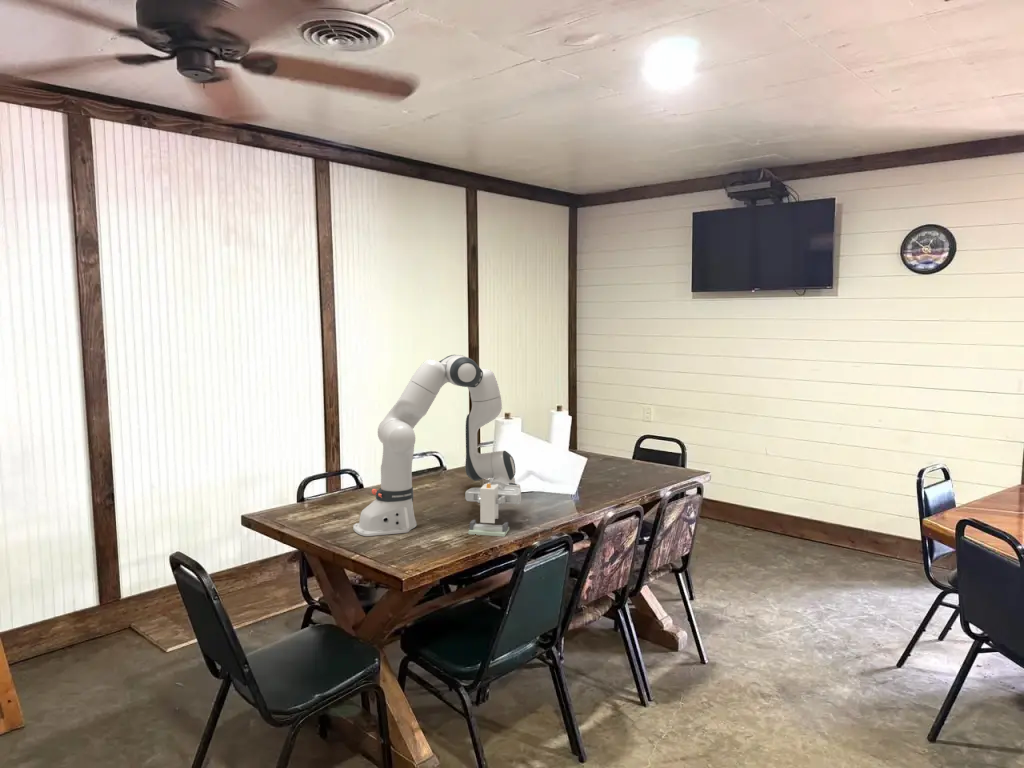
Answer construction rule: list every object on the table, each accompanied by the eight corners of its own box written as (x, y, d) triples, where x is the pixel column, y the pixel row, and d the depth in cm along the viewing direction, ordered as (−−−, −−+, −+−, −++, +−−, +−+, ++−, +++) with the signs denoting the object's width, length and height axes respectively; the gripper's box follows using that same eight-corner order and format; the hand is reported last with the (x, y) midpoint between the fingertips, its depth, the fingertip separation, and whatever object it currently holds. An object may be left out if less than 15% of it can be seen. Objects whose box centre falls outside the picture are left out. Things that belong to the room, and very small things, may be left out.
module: (484, 517, 249) (484, 481, 247) (498, 518, 248) (498, 481, 246) (480, 522, 242) (480, 485, 241) (494, 523, 241) (494, 486, 240)
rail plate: (474, 527, 251) (474, 518, 250) (509, 529, 248) (509, 520, 248) (468, 534, 243) (468, 524, 242) (504, 536, 240) (504, 527, 240)
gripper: (470, 482, 259) (460, 491, 245) (524, 484, 255) (516, 494, 241) (470, 498, 259) (460, 508, 246) (524, 501, 255) (516, 511, 242)
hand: (488, 501), depth 244 cm, fingers closed on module, 5 cm apart
